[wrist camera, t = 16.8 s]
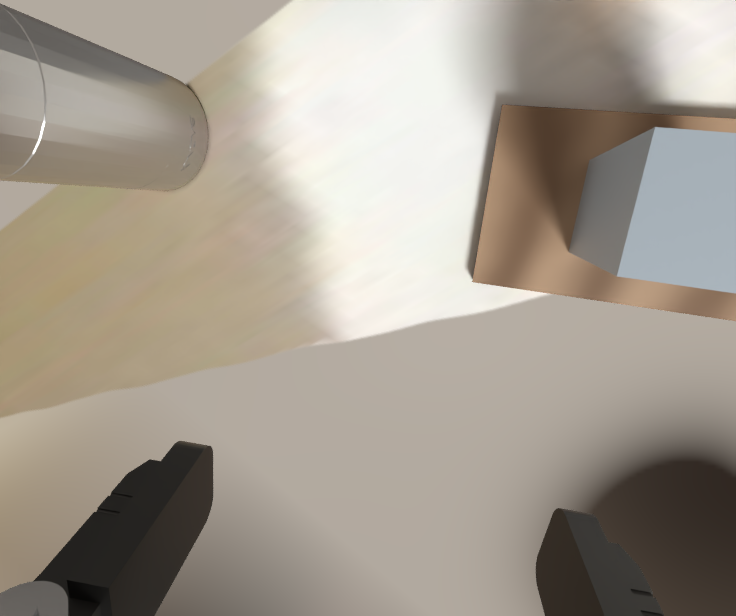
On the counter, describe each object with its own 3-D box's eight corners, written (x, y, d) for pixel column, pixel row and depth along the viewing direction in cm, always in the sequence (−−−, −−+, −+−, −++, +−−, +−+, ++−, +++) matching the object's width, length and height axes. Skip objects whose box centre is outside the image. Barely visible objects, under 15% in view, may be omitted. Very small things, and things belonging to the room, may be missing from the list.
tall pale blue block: (568, 252, 30) (616, 276, 19) (589, 160, 29) (655, 127, 18) (666, 265, 29) (780, 299, 18) (693, 169, 28) (836, 140, 16)
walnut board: (472, 279, 33) (472, 281, 32) (501, 108, 30) (502, 104, 30) (749, 320, 29) (758, 324, 28) (813, 127, 26) (825, 124, 26)
